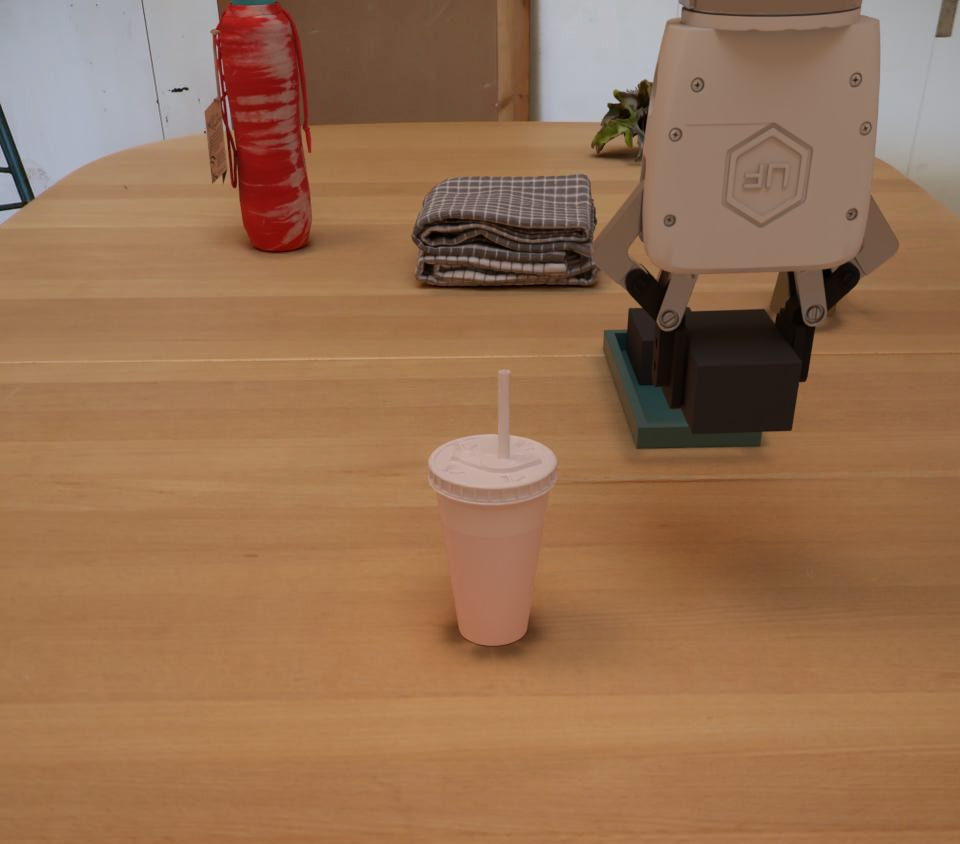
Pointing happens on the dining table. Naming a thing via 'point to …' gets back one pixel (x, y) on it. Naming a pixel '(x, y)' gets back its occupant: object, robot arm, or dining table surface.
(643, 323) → the dark brown rectangular block
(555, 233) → the towel
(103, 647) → the dining table surface
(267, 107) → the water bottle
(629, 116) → the green leafy plant
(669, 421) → the tray
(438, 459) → the smoothie
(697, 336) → the black rectangular block
